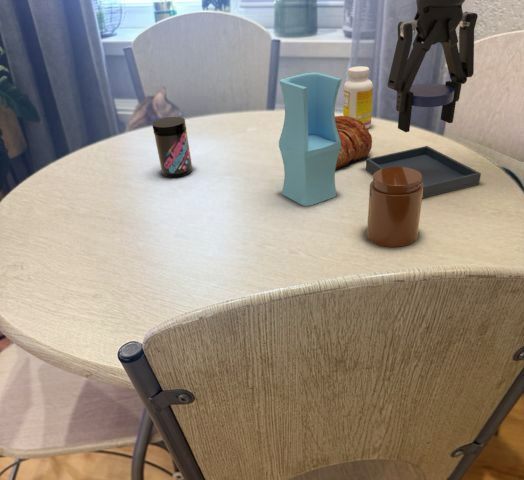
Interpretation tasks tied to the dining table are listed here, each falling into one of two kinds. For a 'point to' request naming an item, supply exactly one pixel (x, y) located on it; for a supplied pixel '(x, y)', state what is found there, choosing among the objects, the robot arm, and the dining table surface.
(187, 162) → the supplement container
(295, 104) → the blue toy chair
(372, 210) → the jar
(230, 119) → the dining table surface
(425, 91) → the lid
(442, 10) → the robot arm
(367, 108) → the supplement bottle
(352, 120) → the pastry
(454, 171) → the tray
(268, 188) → the dining table surface
